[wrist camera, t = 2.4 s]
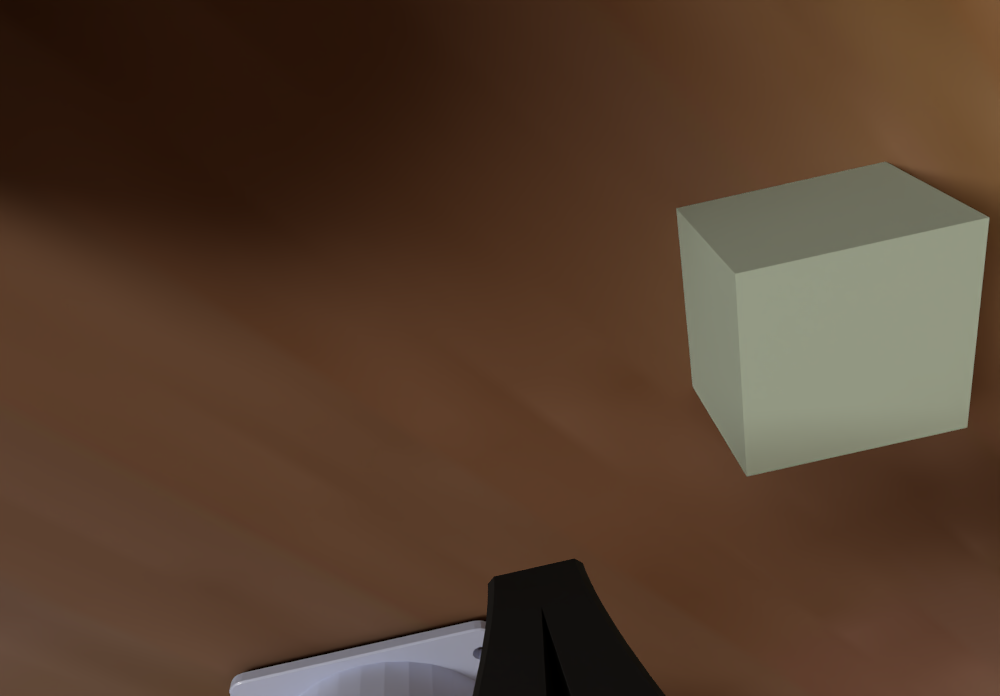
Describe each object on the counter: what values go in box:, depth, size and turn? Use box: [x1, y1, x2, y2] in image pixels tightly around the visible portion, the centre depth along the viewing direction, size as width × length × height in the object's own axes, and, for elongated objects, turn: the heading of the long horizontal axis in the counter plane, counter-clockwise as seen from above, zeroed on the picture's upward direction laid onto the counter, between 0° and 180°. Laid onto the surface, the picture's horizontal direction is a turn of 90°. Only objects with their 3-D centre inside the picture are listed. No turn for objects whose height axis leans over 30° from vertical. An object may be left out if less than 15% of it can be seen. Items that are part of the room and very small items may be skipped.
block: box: [676, 162, 989, 476], centre depth 19 cm, size 5×5×4 cm
